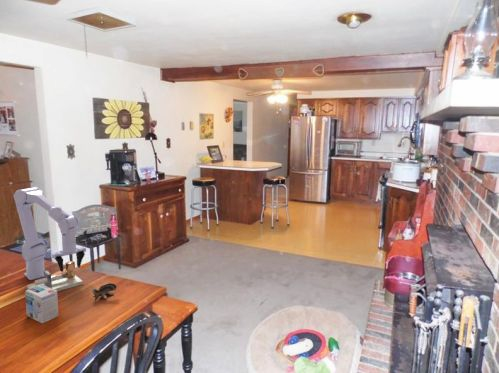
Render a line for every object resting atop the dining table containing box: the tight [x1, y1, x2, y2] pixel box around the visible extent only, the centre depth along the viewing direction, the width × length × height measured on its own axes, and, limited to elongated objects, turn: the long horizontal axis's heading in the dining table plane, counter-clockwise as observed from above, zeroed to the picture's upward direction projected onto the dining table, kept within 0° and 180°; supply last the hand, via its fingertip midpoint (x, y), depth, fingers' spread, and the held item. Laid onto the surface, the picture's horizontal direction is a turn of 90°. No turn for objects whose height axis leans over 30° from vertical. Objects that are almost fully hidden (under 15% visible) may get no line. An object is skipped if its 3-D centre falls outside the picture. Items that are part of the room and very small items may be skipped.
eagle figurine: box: [91, 282, 118, 302], centre depth 149 cm, size 8×7×9 cm
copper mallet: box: [34, 260, 76, 286], centre depth 158 cm, size 4×17×7 cm, turn 137°
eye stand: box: [26, 269, 84, 292], centre depth 158 cm, size 12×20×8 cm, turn 137°
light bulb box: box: [24, 285, 59, 324], centre depth 133 cm, size 11×7×11 cm, turn 62°
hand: (70, 268), depth 162 cm, fingers open, 7 cm apart
